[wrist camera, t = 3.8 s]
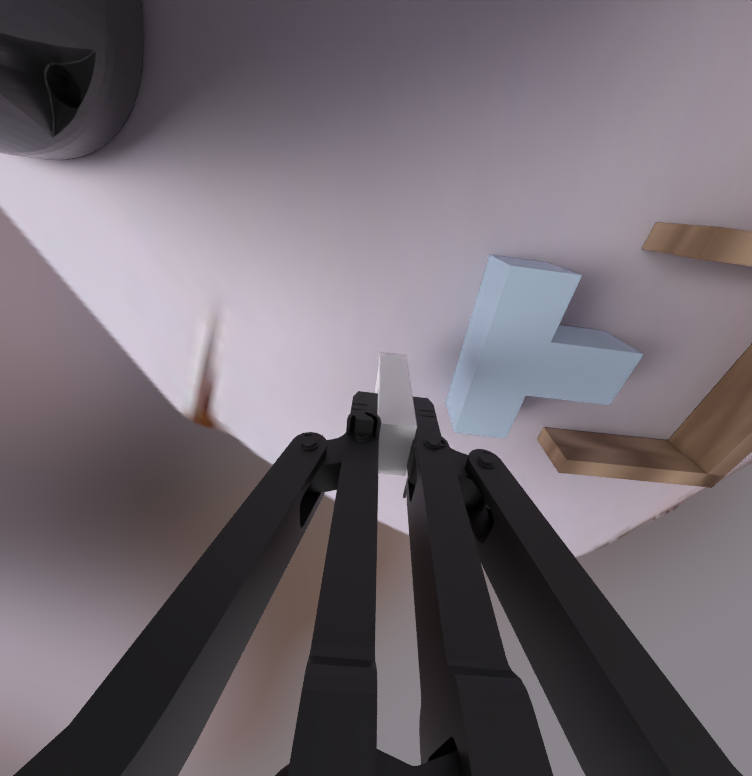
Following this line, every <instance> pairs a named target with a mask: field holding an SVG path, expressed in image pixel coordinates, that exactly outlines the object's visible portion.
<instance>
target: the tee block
mask: <svg viewBox="0 0 752 776" xmlns="http://www.w3.org/2000/svg"><path fill="white" fill-rule="evenodd" d="M581 277H582V275H580V274H578V273H575V272H572V271H570V270H567V269H564V268H562V267H559V266H556V265H554V264H551V263H547V262H540V261H532V260H525V259H517V258H509V257H502V256H494V255H490V256H489V259H488V263H487V266H486V269H485V273H484V276H483V279H482V283H481V286H480V289H479V293H478V296H477V300H476V303H475V306H474V310H473V313H472V316H471V320H470V323H469V326H468V330H467V333H466V336H465V340H464V343H463V346H462V350H461V353H460V357H459V360H458V363H457V367H456V370H455V373H454V377H453V380H452V383H451V387H450V390H449V393H448V397H447V400H446V406H447V409H448V413H449V416H450V420H451V423H452V427H453V430H454V433H461V434H470V435H479V436H488V437H497V438H506V437H507V434H508V432H509V430H510V428H511V426H512V424H513V422H514V420H515V417H516V415H517V413H518V411H519V409H520V407H521V405H522V403H523V400H524V398H525V396H535V397H543V398H551V399H560V400H568V401H577V402H585V403H594V404H602V405H610V404H611V402H612V401H613V399H614V398H615V396H616V395H617V393H618V392H619V390H620V389H621V387H622V386H623V384H624V383H625V381H626V380H627V378H628V377H629V375H630V374H631V372H632V371H633V369H634V368H635V366H636V365H637V363H638V362H639V360H640V359H641V357H642V356H643V353H641V352H640V351H638V350H636V349H635V348H633V347H631V346H630V345H628V344H626V343H625V342H623V341H621V340H619V339H618V338H616V337H614V336H613V335H611V334H609V333H608V332H606V331H604V330H596V329H588V328H580V327H573V326H565V325H559V324H560V322H561V319H562V317H563V315H564V313H565V311H566V309H567V307H568V304H569V302H570V300H571V298H572V296H573V294H574V292H575V290H576V287H577V285H578V283H579V281H580V279H581Z"/></svg>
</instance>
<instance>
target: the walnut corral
mask: <svg viewBox="0 0 752 776" xmlns="http://www.w3.org/2000/svg"><path fill="white" fill-rule="evenodd" d="M642 249H646V250H651V251H657V252H662V253H667V254H673V255H678V256H684V257H689V258H695V259H701V260H709V261H716V262H723V263H731V264H738V265H746V266H752V232H751V231H744V230H737V229H730V228H723V227H713V226H699V225H686V224H673V223H660V222H656V224H655V225H654V227H653V229H652V231H651V233H650V234H649V236H648V238H647V240H646V242H645V244H644V245H643V247H642ZM537 440H538V442H539V443H540V445H541V446H542V448H543V450H544V451H545V453H546V454H547V456H548V457H549V459H550V460H551V462H552V463H553V465H554V466H555V468H556V470H557V471H558V473H568V474H578V475H588V476H599V477H609V478H619V479H629V480H639V481H650V482H660V483H670V484H680V485H690V486H701V487H711V488H712V487H713V486H714V485H715V484H716V483H718V482H719V481H720V480H721V479H722V478H723V477H724V476H725V475H726V474H727V473H729V472H730V471H731V470H732V469H733V468H734V467H735V466H736V465H737V464H739V463H740V462H741V461H742V460H743V459H744V458H745V457H746V456H747V455H749V454H750V453H751V452H752V344H751V346H750V347H749V348H748V349H747V350H746V351H745V352H744V354H743V355H742V356H741V357H740V358H739V359H738V361H737V362H736V363H735V364H734V365H733V366H732V367H731V369H730V370H729V371H728V372H727V373H726V374H725V375H724V377H723V378H722V379H721V380H720V381H719V382H718V383H717V385H716V386H715V387H714V388H713V389H712V390H711V392H710V393H709V394H708V395H707V396H706V397H705V398H704V400H703V401H702V402H701V403H700V404H699V405H698V406H697V408H696V409H695V410H694V411H693V412H692V413H691V415H690V416H689V417H688V418H687V419H686V420H685V421H684V423H683V424H682V425H681V426H680V427H679V428H678V429H677V431H676V432H675V433H674V434H673V435H672V436H671V437H670V439H669V440H659V439H650V438H640V437H631V436H621V435H612V434H602V433H593V432H583V431H574V430H564V429H555V428H545V427H544V428H543V430H542V431H541V433H540V435H539V437H538V439H537Z"/></svg>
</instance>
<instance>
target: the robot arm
mask: <svg viewBox="0 0 752 776" xmlns="http://www.w3.org/2000/svg"><path fill="white" fill-rule="evenodd" d="M142 62H143V19H142V7H141V0H0V153H5V154H10V155H17V156H25V157H33V158H41V159H52V160H64V159H73V158H77V157H82V156H85V155H88V154H90V153H92V152H94V151H96V150H98V149H100V148H101V147H103V146H104V145H105V144H107V143H108V142H109V141H110V140H111V139H112V138H113V137H114V136H115V135H116V134H117V133H118V132H119V130H120V129H121V128H122V126H123V125H124V123H125V121H126V120H127V118H128V116H129V114H130V112H131V109H132V107H133V104H134V102H135V99H136V95H137V92H138V88H139V83H140V78H141V72H142ZM406 470H407V472H408V478H407V482H406V486H405V490H404V494H403V498H405V497H406V495H407V509H408V523H409V536H410V550H411V562H412V577H413V591H414V604H415V618H416V631H417V645H418V659H419V672H420V686H421V711H420V728H419V732H420V733H419V734H420V754H421V765H419V766H411V765H409V764H407V763H405V762H403V761H401V760H399V759H397V758H395V757H392V756H390V755H388V754H386V753H384V752H382V751H380V750H378V749H376V746H377V745H376V744H377V738H376V737H377V668H376V663H375V612H376V562H377V511H378V473H384V474H394V475H404V476H405V474H406ZM332 490H337V493H336V499H335V505H334V512H333V517H332V523H331V529H330V535H329V543H328V548H327V554H326V560H325V566H324V572H323V578H322V584H321V590H320V596H319V603H318V609H317V615H316V621H315V627H314V633H313V639H312V645H311V650H310V655H309V659H308V662H307V667H306V671H305V676H304V682H303V688H302V693H301V699H300V705H299V711H298V717H297V723H296V730H295V735H294V741H293V747H292V752H291V759H290V763H289V764H288V765H287V766H285V767H284V768H283V769H281V770H280V771H279V772H278V773H277V774H276V775H275V776H553V773H552V770H551V766H550V763H549V760H548V756H547V753H546V750H545V746H544V743H543V739H542V736H541V733H540V729H539V726H538V722H537V719H536V716H535V712H534V709H533V706H532V703H531V700H530V698H529V695H528V692H527V690H526V688H525V686H524V684H523V683H522V680H521V679H520V678H519V677H518V676H517V675H516V674H515V673H514V672H513V671H512V670H511V668H510V667H509V665H508V662H507V659H506V656H505V652H504V648H503V645H502V641H501V637H500V633H499V630H498V626H497V622H496V618H495V615H494V611H493V607H492V603H491V600H490V596H489V592H488V589H487V585H486V581H485V578H484V574H483V570H482V566H483V568H484V570H485V572H486V574H487V576H488V578H489V580H490V582H491V584H492V587H493V589H494V590H495V593H496V594H497V597H498V599H499V601H500V603H501V605H502V607H503V609H504V611H505V613H506V615H507V617H508V619H509V621H510V623H511V625H512V627H513V629H514V631H515V633H516V635H517V637H518V639H519V641H520V644H521V645H522V648H523V650H524V652H525V654H526V656H527V657H528V660H529V662H530V664H531V666H532V668H533V670H534V672H535V674H536V676H537V678H538V680H539V682H540V684H541V686H542V688H543V690H544V692H545V694H546V696H547V698H548V700H549V702H550V704H551V707H552V709H553V711H554V713H555V715H556V717H557V719H558V721H559V723H560V725H561V727H562V729H563V731H564V733H565V735H566V737H567V739H568V741H569V743H570V745H571V747H572V749H573V751H574V753H575V755H576V757H577V759H578V762H579V764H580V766H581V768H582V770H583V771H584V773H585V775H586V776H743V775H742V774H741V773H740V772H739V771H738V770H737V769H736V768H735V767H734V766H733V765H732V764H731V762H730V761H729V760H728V758H727V757H726V756H725V754H724V753H723V752H722V750H721V749H720V748H719V746H718V745H717V744H716V742H715V741H714V740H713V738H712V737H711V736H710V735H709V733H708V732H707V730H706V729H705V728H704V727H703V725H702V724H701V723H700V721H699V720H698V719H697V717H696V716H695V715H694V713H693V712H692V711H691V710H690V708H689V707H688V706H687V704H686V703H685V702H684V700H683V699H682V698H681V696H680V695H679V694H678V692H677V691H676V690H675V688H674V687H673V686H672V684H671V683H670V682H669V681H668V679H667V678H666V677H665V675H664V674H663V673H662V671H661V670H660V669H659V667H658V666H657V665H656V663H655V662H654V661H653V660H652V658H651V657H650V656H649V654H648V653H647V652H646V650H645V649H644V648H643V646H642V645H641V644H640V642H639V641H638V640H637V638H636V637H635V636H634V634H633V633H632V632H631V631H630V629H629V628H628V627H627V625H626V624H625V623H624V621H623V620H622V619H621V617H620V616H619V615H618V613H617V612H616V611H615V609H614V608H613V607H612V605H611V604H610V603H609V602H608V600H607V599H606V598H605V597H604V595H603V594H602V593H601V591H600V590H599V588H598V587H597V586H596V584H595V583H594V582H593V580H592V579H591V578H590V577H589V575H588V574H587V573H586V571H585V570H584V569H583V567H582V566H581V565H580V564H579V562H578V561H577V559H576V558H575V557H574V555H573V554H572V553H571V551H570V550H569V549H568V548H567V546H566V545H565V544H564V542H563V541H562V540H561V538H560V537H559V536H558V534H557V533H556V532H555V530H554V529H553V528H552V526H551V525H550V524H549V523H548V521H547V520H546V519H545V517H544V516H543V515H542V513H541V512H540V511H539V509H538V508H537V507H536V505H535V504H534V503H533V501H532V500H531V499H530V497H529V496H528V495H527V494H526V492H525V491H524V490H523V488H522V487H521V486H520V484H519V483H518V482H517V480H516V479H515V478H514V476H513V475H512V474H511V472H510V471H509V470H508V469H507V467H506V466H505V465H504V463H503V462H502V461H501V459H500V458H499V457H498V456H496V455H495V454H493V453H492V452H490V451H487V450H484V449H476V450H472V451H471V452H470V453H469V455H466V454H463V453H460V452H458V451H455V450H453V449H451V448H450V447H449V444H448V442H447V441H446V440H445V439H444V438H443V437H441V433H440V429H439V425H438V421H437V418H436V413H435V409H434V405H433V404H432V402H431V401H430V400H429V399H428V398H420V397H412V390H411V384H410V377H409V370H408V363H407V357H406V355H404V354H395V353H386V352H380V359H379V367H378V374H377V381H376V389H375V393H369V392H360V391H358V392H357V393H356V394H355V395H354V396H353V401H352V407H351V413H350V414H349V416H348V418H347V430H346V433H345V434H344V435H343V436H341V437H339V438H336V439H332V440H326V439H325V438H324V437H323V436H322V435H320V434H318V433H313V432H308V433H302V434H300V435H298V436H296V437H295V438H294V439H293V440H292V442H291V443H290V444H289V445H288V447H287V448H286V449H285V450H284V452H283V453H282V454H281V456H280V457H279V458H278V459H277V461H276V462H275V463H274V464H273V466H272V467H271V468H270V470H269V471H268V472H267V473H266V475H265V476H264V477H263V479H262V480H261V481H260V482H259V484H258V485H257V486H256V487H255V489H254V490H253V491H252V493H251V494H250V495H249V496H248V498H247V499H246V500H245V501H244V503H243V504H242V505H241V507H240V508H239V509H238V511H237V512H236V513H235V514H234V515H233V517H232V518H231V519H230V521H229V522H228V523H227V524H226V526H225V527H224V528H223V530H222V531H221V532H220V533H219V535H218V536H217V537H216V538H215V540H214V541H213V542H212V543H211V545H210V546H209V547H208V549H207V550H206V551H205V552H204V554H203V555H202V556H201V557H200V559H199V560H198V561H197V563H196V564H195V565H194V566H193V568H192V569H191V570H190V572H189V573H188V574H187V575H186V577H185V578H184V579H183V581H182V582H181V583H180V584H179V586H178V587H177V588H176V589H175V591H174V592H173V593H172V594H171V596H170V597H169V598H168V600H167V601H166V602H165V603H164V605H163V606H162V607H161V609H160V610H159V611H158V612H157V614H156V615H155V616H154V617H153V619H152V620H151V621H150V622H149V624H148V625H147V626H146V628H145V629H144V630H143V631H142V633H141V634H140V635H139V637H138V638H137V639H136V640H135V642H134V643H133V644H132V645H131V647H130V648H129V649H128V651H127V652H126V653H125V654H124V656H123V657H122V658H121V659H120V661H119V662H118V663H117V665H116V666H115V667H114V668H113V670H112V671H111V672H110V674H109V675H108V676H107V677H106V679H105V680H104V681H103V683H102V684H101V685H100V686H99V688H98V689H97V690H96V691H95V693H94V694H93V695H92V696H91V698H90V699H89V700H88V702H87V703H86V704H85V705H84V707H83V708H82V709H81V710H80V712H79V713H78V714H77V715H76V717H75V718H74V719H73V721H72V722H71V723H70V725H68V727H66V728H65V729H64V730H63V731H62V732H61V733H60V734H59V735H57V736H56V737H55V738H54V739H53V740H52V741H51V742H50V743H49V744H48V745H47V746H45V747H44V748H43V749H42V750H41V751H40V752H39V753H38V754H37V755H36V756H34V757H33V758H32V759H31V760H30V761H29V762H28V763H27V764H26V765H24V767H22V768H21V769H20V770H19V771H18V772H17V773H16V774H15V775H13V776H178V775H179V772H180V771H181V769H182V767H183V766H184V763H185V762H186V760H187V758H188V757H189V755H190V753H191V751H192V749H193V748H194V746H195V744H196V742H197V740H198V738H199V736H200V734H201V732H202V730H203V728H204V726H205V725H206V723H207V721H208V719H209V717H210V715H211V713H212V711H213V709H214V707H215V705H216V703H217V701H218V699H219V698H220V695H221V693H222V691H223V690H224V688H225V686H226V684H227V682H228V680H229V678H230V676H231V674H232V672H233V670H234V668H235V666H236V665H237V663H238V661H239V659H240V657H241V655H242V653H243V651H244V649H245V647H246V645H247V643H248V641H249V639H250V637H251V635H252V633H253V631H254V629H255V628H256V626H257V624H258V622H259V619H260V618H261V616H262V614H263V612H264V610H265V608H266V606H267V604H268V602H269V600H270V599H271V597H272V595H273V593H274V591H275V589H276V587H277V585H278V583H279V581H280V579H281V577H282V575H283V573H284V571H285V569H286V568H287V566H288V564H289V561H290V560H291V558H292V556H293V554H294V552H295V550H296V548H297V546H298V544H299V542H300V540H301V538H302V537H303V534H304V533H305V530H306V529H307V527H308V525H309V523H310V521H311V519H312V517H313V515H314V513H315V511H316V509H317V507H318V505H319V504H320V502H321V500H322V498H323V496H324V493H325V492H327V491H332ZM481 564H482V566H481Z"/></svg>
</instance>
